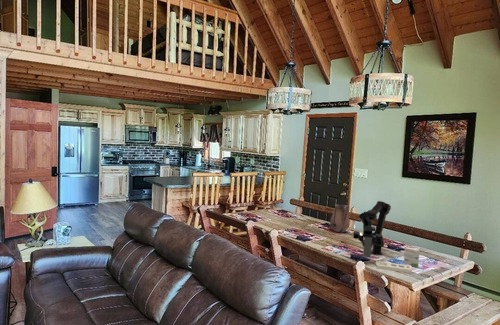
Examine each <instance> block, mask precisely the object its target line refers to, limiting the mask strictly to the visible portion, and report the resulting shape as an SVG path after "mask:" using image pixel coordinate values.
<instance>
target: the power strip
mask: <svg viewBox="0 0 500 325" xmlns="http://www.w3.org/2000/svg"><path fill="white" fill-rule="evenodd" d="M374 264H375V267H376V269H380V270H387V271H394V272H401V273H406V274H407V273H408V274H413V273H412V272H413V271H412V268H411V265H409V264H401V263H394V262H386V261H379V260H375V262H374Z"/></svg>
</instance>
